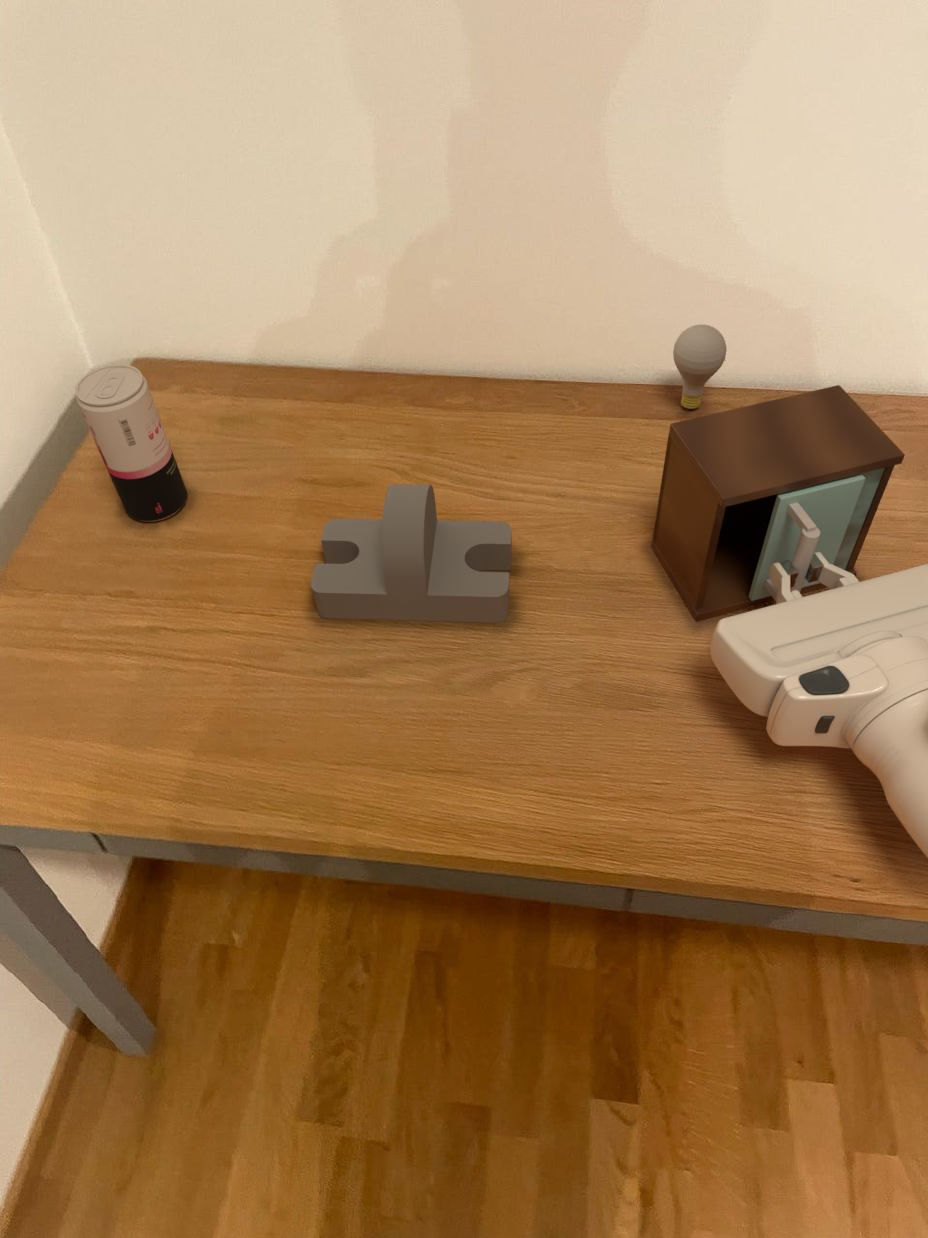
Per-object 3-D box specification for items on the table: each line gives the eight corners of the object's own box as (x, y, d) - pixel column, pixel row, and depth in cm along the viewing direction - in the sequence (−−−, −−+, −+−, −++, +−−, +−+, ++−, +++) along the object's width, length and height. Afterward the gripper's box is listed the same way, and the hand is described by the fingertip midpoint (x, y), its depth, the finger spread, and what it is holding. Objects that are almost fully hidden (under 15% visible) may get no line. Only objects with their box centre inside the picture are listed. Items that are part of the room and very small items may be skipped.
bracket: (508, 623, 85) (506, 539, 76) (315, 618, 86) (293, 535, 78) (512, 548, 91) (511, 463, 83) (332, 544, 92) (313, 460, 84)
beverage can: (116, 523, 96) (62, 404, 84) (137, 480, 100) (88, 362, 88) (177, 525, 95) (130, 406, 84) (196, 483, 99) (154, 363, 88)
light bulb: (718, 421, 102) (734, 342, 94) (668, 423, 102) (680, 344, 94) (710, 391, 105) (725, 313, 98) (662, 393, 106) (673, 314, 98)
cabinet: (799, 509, 92) (839, 384, 81) (854, 580, 86) (905, 454, 75) (651, 547, 90) (670, 423, 79) (695, 621, 84) (723, 498, 72)
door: (823, 576, 85) (861, 473, 75) (849, 610, 82) (892, 507, 73) (748, 596, 84) (777, 494, 74) (771, 631, 81) (804, 530, 72)
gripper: (1026, 630, 68) (915, 506, 76) (772, 702, 65) (686, 565, 73) (992, 680, 72) (891, 559, 81) (754, 750, 69) (676, 616, 78)
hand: (792, 562), depth 77 cm, fingers closed on door
